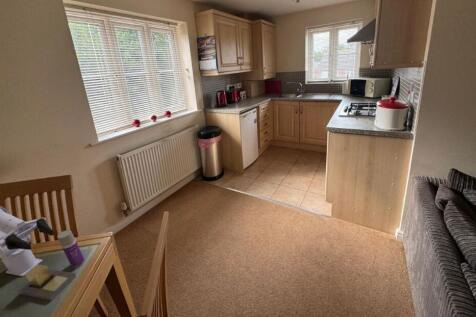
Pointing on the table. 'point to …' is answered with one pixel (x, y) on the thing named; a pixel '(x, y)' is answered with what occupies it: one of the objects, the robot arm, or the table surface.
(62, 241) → the container
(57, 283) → the rail plate
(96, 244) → the table surface
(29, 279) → the tan rectangular block
